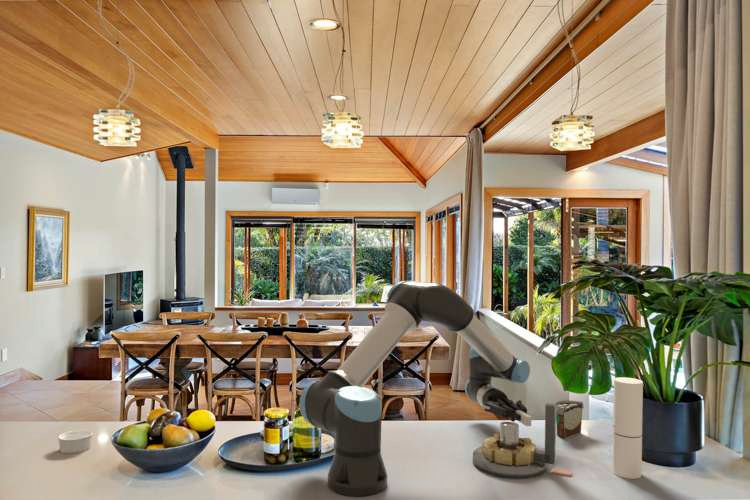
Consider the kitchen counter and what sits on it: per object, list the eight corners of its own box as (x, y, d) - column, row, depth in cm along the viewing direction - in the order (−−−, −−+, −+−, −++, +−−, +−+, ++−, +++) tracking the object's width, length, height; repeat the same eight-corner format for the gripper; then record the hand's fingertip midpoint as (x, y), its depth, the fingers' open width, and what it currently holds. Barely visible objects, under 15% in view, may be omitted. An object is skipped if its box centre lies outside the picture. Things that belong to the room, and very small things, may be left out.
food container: (566, 427, 189) (566, 397, 189) (583, 432, 184) (583, 401, 184) (545, 435, 181) (545, 404, 181) (562, 440, 176) (562, 408, 176)
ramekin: (55, 448, 165) (55, 433, 165) (88, 441, 170) (88, 427, 170) (61, 457, 158) (61, 442, 158) (95, 450, 163) (95, 435, 163)
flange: (492, 482, 144) (493, 439, 144) (461, 453, 164) (461, 416, 163) (561, 474, 149) (561, 433, 149) (523, 448, 169) (523, 411, 169)
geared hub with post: (477, 459, 153) (478, 402, 153) (490, 443, 166) (491, 390, 166) (550, 472, 145) (551, 412, 145) (558, 454, 157) (559, 399, 157)
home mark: (551, 473, 150) (551, 471, 150) (552, 469, 153) (552, 468, 153) (570, 476, 148) (570, 475, 148) (571, 473, 150) (571, 471, 150)
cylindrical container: (635, 468, 154) (637, 377, 154) (645, 479, 147) (647, 384, 147) (608, 467, 155) (610, 376, 155) (617, 477, 148) (618, 383, 147)
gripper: (474, 388, 183) (508, 409, 160) (510, 386, 186) (549, 407, 163) (474, 411, 183) (508, 436, 160) (510, 409, 186) (549, 432, 163)
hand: (528, 421), depth 161 cm, fingers closed
